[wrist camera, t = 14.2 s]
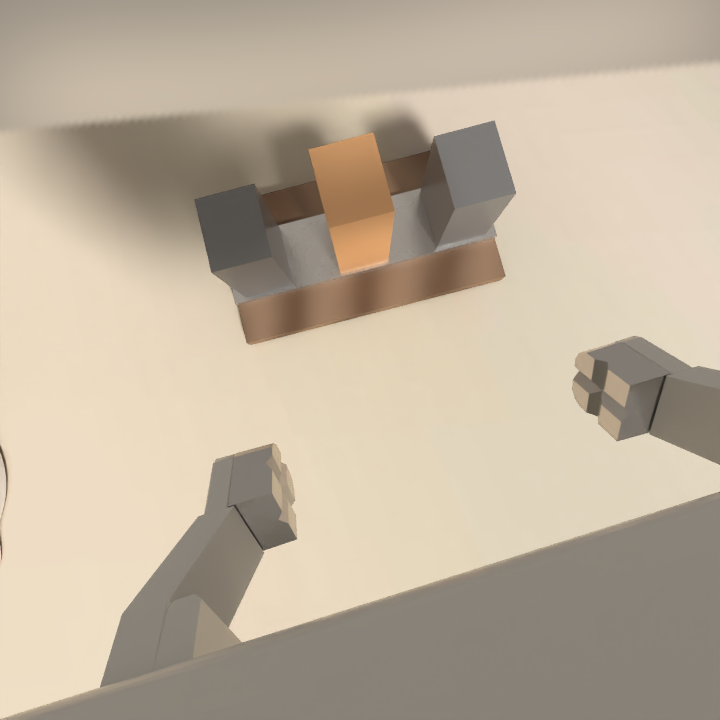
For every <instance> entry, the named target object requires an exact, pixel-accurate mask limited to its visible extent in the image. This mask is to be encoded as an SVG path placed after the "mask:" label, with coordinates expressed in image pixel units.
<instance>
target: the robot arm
mask: <svg viewBox="0 0 720 720" xmlns="http://www.w3.org/2000/svg"><path fill="white" fill-rule="evenodd" d="M575 367H576V368H577V369H578V370H579V372H578V373H577V375H576V376H575V377H574V379H573V385H572V390H573V394H574V397H575V399H576V401H577V403H578V404H579V406H580V407H581V408H582V409H583V410H584V411H585V412H587V413H590V414H593V415H595V416H598V424H599V425H600V426H601V427H602V428H603V429H604V430H605V431H607V432H608V433H609V434H610V435H611V436H612V437H613V438H614V439H615V440H616V441H620V440H624V439H627V438H631V437H634V436H638V435H642V434H645V433H649V432H650V433H649V434H650V435H653V436H655V437H657V438H660V439H662V440H664V441H666V442H669V443H671V444H673V445H676V446H678V447H680V448H683V449H685V450H687V451H689V452H692V453H694V454H696V455H699V456H701V457H703V458H706V459H708V460H710V461H712V462H715V463H717V464H719V465H720V371H719V370H714V369H709V368H704V367H700V366H697V367H694V368H692V367H690V366H689V365H687V364H685V363H684V362H682V361H680V360H679V359H677V358H675V357H674V356H672V355H670V354H668V353H667V352H665V351H663V350H662V349H660V348H658V347H657V346H655V345H653V344H652V343H650V342H648V341H647V340H645V339H643V338H642V337H637V336H633V337H629V338H626V339H623V340H620V341H617V342H615V343H611V344H608V345H604V346H601V347H598V348H594V349H591V350H588V351H584V352H581V353H579V354H578V356H577V357H576V360H575ZM5 497H6V473H5V467H4V463H3V459H2V456H1V454H0V519H1V515H2V512H3V508H4V503H5ZM294 501H295V495H294V487H293V482H292V478H291V475H290V472H289V470H288V467H287V465H286V464H283V463H281V453H280V451H279V449H278V447H277V445H276V444H274V443H273V444H269V445H265V446H262V447H258V448H254V449H251V450H247V451H243V452H239V453H236V454H234V455H230V456H226V457H222V458H219V459H216V460H215V462H214V463H213V467H212V473H211V479H210V484H209V490H208V496H207V502H206V508H205V513H204V515H201V516H198V517H197V519H196V520H195V521H194V523H193V524H192V525H191V526H190V528H189V529H188V530H187V532H186V533H185V534H184V535H183V537H182V538H181V539H180V541H179V542H178V543H177V544H176V546H175V547H174V548H173V550H172V551H171V552H170V553H169V555H168V556H167V557H166V559H165V560H164V561H163V562H162V564H161V565H160V566H159V568H158V569H157V570H156V571H155V573H154V574H153V575H152V577H151V578H150V579H149V580H148V582H147V583H146V584H145V586H144V587H143V588H142V589H141V591H140V592H139V593H138V595H137V596H136V597H135V598H134V600H133V601H132V602H131V604H130V605H129V606H128V607H127V609H126V610H125V611H124V613H123V614H122V616H121V620H120V623H119V626H118V629H117V633H116V636H115V639H114V643H113V646H112V649H111V653H110V656H109V659H108V662H107V666H106V669H105V672H104V676H103V679H102V682H101V686H100V688H97V689H94V690H91V691H88V692H85V693H81V694H78V695H75V696H72V697H69V698H66V699H62V700H59V701H56V702H53V703H50V704H47V705H43V706H40V707H37V708H34V709H31V710H28V711H24V712H21V713H18V714H15V715H12V716H9V717H5V718H2V719H0V720H720V492H717V493H714V494H711V495H708V496H705V497H702V498H698V499H695V500H692V501H689V502H686V503H683V504H679V505H676V506H673V507H670V508H667V509H664V510H660V511H657V512H654V513H651V514H648V515H645V516H641V517H638V518H635V519H632V520H629V521H626V522H623V523H619V524H616V525H613V526H610V527H607V528H604V529H600V530H597V531H594V532H591V533H588V534H585V535H581V536H578V537H575V538H572V539H569V540H566V541H562V542H559V543H556V544H553V545H550V546H547V547H544V548H540V549H537V550H534V551H531V552H528V553H525V554H521V555H518V556H515V557H512V558H509V559H506V560H503V561H499V562H496V563H493V564H490V565H487V566H484V567H481V568H477V569H474V570H471V571H468V572H465V573H462V574H458V575H455V576H452V577H449V578H446V579H443V580H440V581H436V582H433V583H430V584H427V585H424V586H421V587H417V588H414V589H411V590H408V591H405V592H402V593H398V594H395V595H392V596H389V597H386V598H383V599H379V600H376V601H373V602H370V603H367V604H364V605H360V606H357V607H354V608H351V609H348V610H345V611H341V612H338V613H335V614H332V615H329V616H326V617H322V618H319V619H316V620H313V621H310V622H307V623H303V624H300V625H297V626H294V627H291V628H288V629H284V630H281V631H278V632H275V633H272V634H269V635H265V636H262V637H259V638H256V639H253V640H250V641H246V642H243V643H242V642H241V641H240V640H239V639H238V638H237V637H236V636H235V635H234V633H233V632H232V631H231V630H230V629H229V628H228V627H229V625H230V623H231V621H232V619H233V617H234V615H235V612H236V610H237V608H238V606H239V604H240V602H241V600H242V598H243V596H244V594H245V591H246V589H247V587H248V585H249V583H250V581H251V579H252V577H253V575H254V573H255V571H256V568H257V566H258V564H259V562H260V560H261V558H262V556H263V554H264V552H263V551H264V550H267V549H270V548H273V547H276V546H279V545H282V544H285V543H288V542H291V541H293V540H296V539H297V528H296V515H295V513H294V511H293V509H292V507H291V506H292V504H293V503H294ZM0 562H1V547H0Z"/></svg>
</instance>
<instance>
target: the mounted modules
mask: <svg viewBox="0 0 720 720" xmlns="http://www.w3.org/2000/svg"><path fill="white" fill-rule="evenodd" d="M420 192H421V195H422V199H423V202H424V206H425V210H426V213H427V217H428V220H429V224H430V227H431V231H432V235H433V238H434V242H435V245H436V249H437V248H441V247H445V246H448V245H452V244H456V243H460V242H464V241H468V240H471V239H475V238H479V237H483V236H485V234H486V233H487V232H488V230H489V229H490V228H491V226H492V225H493V224H494V222H495V221H496V220H497V218H498V217H499V216H500V214H501V213H502V211H503V210H504V209H505V207H506V206H507V205H508V203H509V202H510V201H511V199H512V198H513V197H514V195H515V194H516V191H515V187H514V184H513V181H512V177H511V174H510V171H509V167H508V164H507V161H506V157H505V154H504V151H503V147H502V144H501V141H500V137H499V134H498V131H497V127H496V124H495V121H491V122H487V123H483V124H480V125H476V126H472V127H468V128H464V129H461V130H457V131H453V132H449V133H445V134H442V135H438V136H434V139H433V143H432V147H431V151H430V155H429V159H428V163H427V167H426V171H425V175H424V179H423V183H422V187H421V191H420ZM195 203H196V207H197V212H198V216H199V220H200V225H201V229H202V233H203V238H204V242H205V246H206V251H207V255H208V259H209V264H210V268H211V272H212V273H213V274H214V275H216V276H217V277H218V278H220V279H221V280H222V281H224V282H225V283H227V284H228V285H229V286H231V287H232V288H233V289H235V290H236V291H238V292H239V293H240V294H242V295H243V296H245V297H246V298H249V297H252V296H256V295H260V294H264V293H268V292H272V291H276V290H279V289H283V288H287V287H291V286H294V284H293V280H292V276H291V272H290V268H289V264H288V260H287V256H286V252H285V248H284V244H283V240H282V236H281V232H280V228H279V226H278V224H277V223H276V221H275V219H274V217H273V216H272V214H271V212H270V210H269V209H268V207H267V205H266V203H265V202H264V200H263V198H262V196H261V195H260V193H259V191H258V189H257V188H256V186H255V184H252V185H248V186H244V187H240V188H237V189H233V190H229V191H225V192H221V193H218V194H214V195H210V196H206V197H202V198H199V199H195Z"/></svg>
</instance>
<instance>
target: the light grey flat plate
mask: <svg viewBox="0 0 720 720" xmlns="http://www.w3.org/2000/svg"><path fill="white" fill-rule="evenodd" d="M420 191H421V188H420V189H416V190H412V191H408V192H404V193H401V194H397V195H393V196H391V198H392V202H393V206H394V209H395V215H394V222H393V229H392V237H391V244H390V252H389V259H388V261H387V262H384V263H380V264H376V265H372V266H368V267H364V268H361V269H357V270H353V271H349V272H345V273H340V269H339V265H338V262H337V258H336V254H335V250H334V247H333V243H332V239H331V235H330V231H329V228H328V224H327V220H326V216H325V213H324V214H320V215H317V216H313V217H309V218H305V219H301V220H298V221H294V222H290V223H286V224H282V225H278V226H279V228H280V232H281V236H282V240H283V244H284V248H285V252H286V256H287V260H288V264H289V268H290V272H291V276H292V280H293V284H294V286H291V287H287V288H283V289H279V290H276V291H272V292H268V293H264V294H260V295H256V296H252V297H249V298H246V297H245V296H243V295H242V294H240V293H239V292H238V291H236V290H235V289H233V288H232V291H233V296H234V300H235V304H236V305H242V304H246V303H250V302H254V301H257V300H261V299H265V298H269V297H273V296H277V295H281V294H284V293H288V292H292V291H296V290H300V289H304V288H307V287H311V286H315V285H319V284H323V283H327V282H331V281H334V280H338V279H342V278H346V277H350V276H354V275H357V274H361V273H365V272H369V271H373V270H377V269H380V268H384V267H388V266H392V265H396V264H400V263H404V262H407V261H411V260H415V259H419V258H423V257H427V256H430V255H434V254H438V253H442V252H446V251H450V250H453V249H457V248H461V247H465V246H469V245H473V244H477V243H480V242H484V241H488V240H492V239H495V238H496V237H497V234H496V231H495V228H494V224H493V225H492V226H491V228H490V229H489V230H488V232H487V233H486V234H485V236H483V237H479V238H475V239H471V240H468V241H464V242H460V243H456V244H452V245H448V246H445V247H441V248H437V249H436V245H435V242H434V238H433V235H432V231H431V227H430V224H429V220H428V217H427V213H426V210H425V206H424V202H423V199H422V195H421V192H420Z"/></svg>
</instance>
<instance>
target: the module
mask: <svg viewBox="0 0 720 720" xmlns="http://www.w3.org/2000/svg"><path fill="white" fill-rule="evenodd" d="M308 150H309V154H310V158H311V162H312V166H313V170H314V173H315V177H316V181H317V185H318V189H319V193H320V197H321V201H322V204H323V208H324V212H325V216H326V220H327V224H328V228H329V231H330V235H331V239H332V243H333V247H334V250H335V254H336V258H337V262H338V265H339V269H340V273H345V272H349V271H353V270H357V269H361V268H364V267H368V266H372V265H376V264H380V263H384V262H387V261H388V259H389V252H390V244H391V237H392V229H393V222H394V215H395V209H394V206H393V202H392V198H391V195H390V191H389V187H388V184H387V180H386V177H385V173H384V169H383V166H382V162H381V158H380V155H379V151H378V147H377V144H376V140H375V136H374V133H369V134H365V135H361V136H358V137H354V138H350V139H346V140H342V141H339V142H335V143H331V144H327V145H324V146H320V147H316V148H312V149H308Z"/></svg>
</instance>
